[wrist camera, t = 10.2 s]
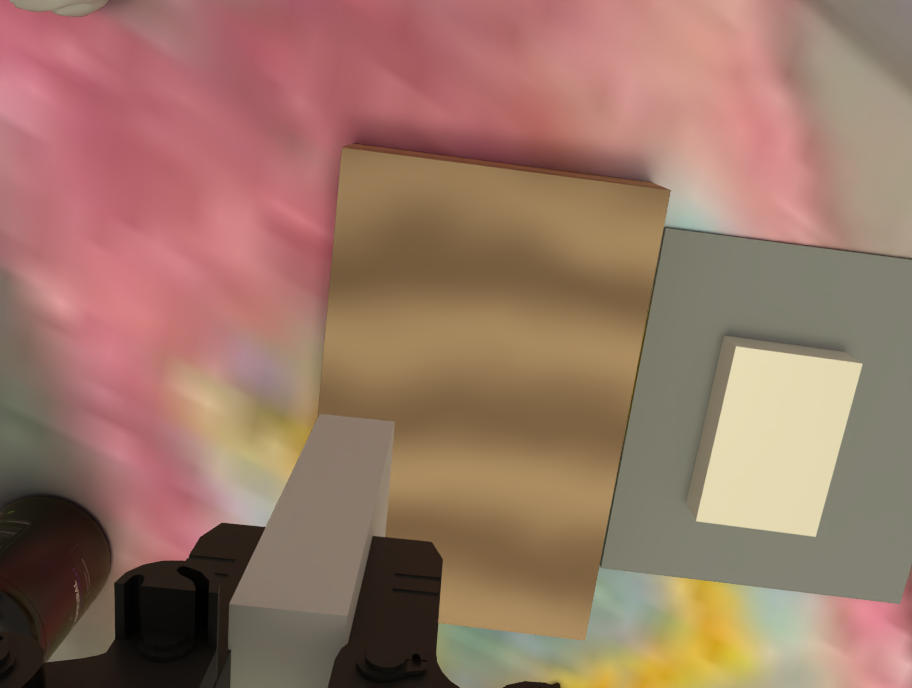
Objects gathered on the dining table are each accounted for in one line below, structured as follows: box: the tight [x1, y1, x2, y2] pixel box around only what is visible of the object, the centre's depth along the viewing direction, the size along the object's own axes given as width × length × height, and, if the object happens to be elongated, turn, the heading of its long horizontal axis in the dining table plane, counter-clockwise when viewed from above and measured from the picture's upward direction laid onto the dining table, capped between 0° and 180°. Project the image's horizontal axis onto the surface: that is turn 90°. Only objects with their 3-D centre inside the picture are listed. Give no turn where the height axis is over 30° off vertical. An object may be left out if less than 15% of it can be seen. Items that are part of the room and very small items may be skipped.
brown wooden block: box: [318, 144, 671, 640], centre depth 42 cm, size 22×14×4 cm, turn 173°
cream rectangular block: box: [686, 335, 863, 537], centre depth 43 cm, size 9×6×2 cm, turn 172°
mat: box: [600, 227, 912, 604], centre depth 44 cm, size 18×16×1 cm
